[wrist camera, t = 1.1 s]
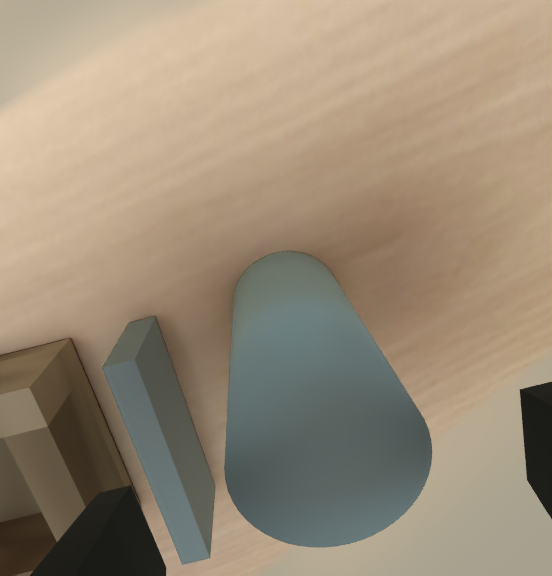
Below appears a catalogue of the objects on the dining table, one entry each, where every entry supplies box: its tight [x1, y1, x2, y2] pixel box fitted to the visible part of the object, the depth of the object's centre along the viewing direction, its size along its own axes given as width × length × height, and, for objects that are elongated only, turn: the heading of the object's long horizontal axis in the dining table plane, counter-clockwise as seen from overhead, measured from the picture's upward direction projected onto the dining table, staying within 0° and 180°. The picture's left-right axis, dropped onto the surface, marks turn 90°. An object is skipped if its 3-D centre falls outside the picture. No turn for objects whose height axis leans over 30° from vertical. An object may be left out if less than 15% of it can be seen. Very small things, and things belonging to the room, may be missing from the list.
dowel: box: [224, 251, 432, 547], centre depth 13 cm, size 4×4×9 cm
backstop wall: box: [102, 316, 215, 565], centre depth 17 cm, size 1×8×4 cm, turn 14°
